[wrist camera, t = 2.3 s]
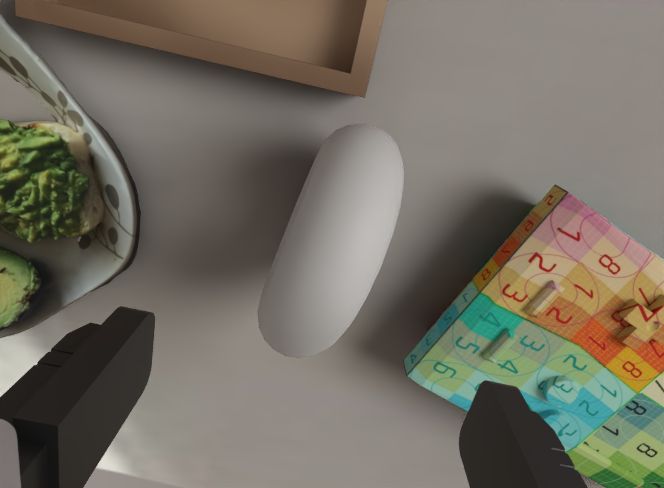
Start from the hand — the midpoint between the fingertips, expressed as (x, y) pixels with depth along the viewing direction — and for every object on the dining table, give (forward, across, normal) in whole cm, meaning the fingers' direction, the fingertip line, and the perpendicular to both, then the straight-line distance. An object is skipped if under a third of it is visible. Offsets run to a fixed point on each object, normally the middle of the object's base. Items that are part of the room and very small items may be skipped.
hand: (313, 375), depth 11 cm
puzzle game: (+14, -17, +5) cm, 23 cm away
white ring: (+14, 0, 0) cm, 14 cm away
